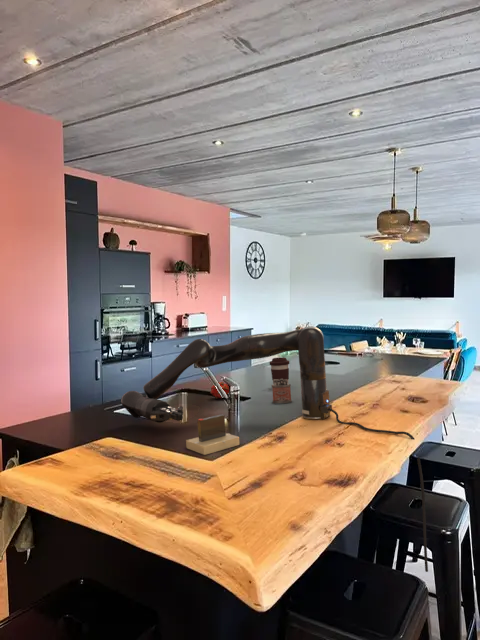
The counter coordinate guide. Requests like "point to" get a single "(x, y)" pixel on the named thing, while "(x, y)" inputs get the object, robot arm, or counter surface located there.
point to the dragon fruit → (215, 392)
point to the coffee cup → (279, 369)
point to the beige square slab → (212, 444)
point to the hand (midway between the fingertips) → (180, 417)
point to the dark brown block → (211, 428)
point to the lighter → (281, 391)
